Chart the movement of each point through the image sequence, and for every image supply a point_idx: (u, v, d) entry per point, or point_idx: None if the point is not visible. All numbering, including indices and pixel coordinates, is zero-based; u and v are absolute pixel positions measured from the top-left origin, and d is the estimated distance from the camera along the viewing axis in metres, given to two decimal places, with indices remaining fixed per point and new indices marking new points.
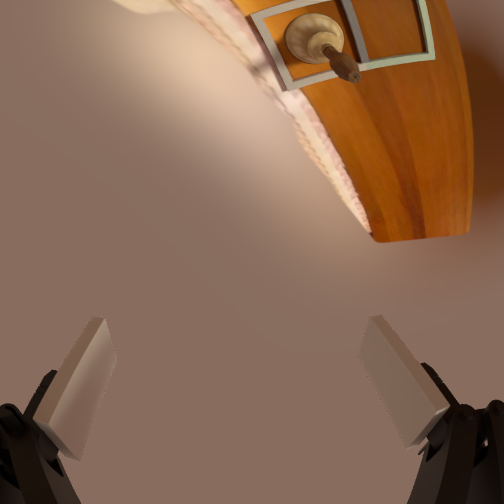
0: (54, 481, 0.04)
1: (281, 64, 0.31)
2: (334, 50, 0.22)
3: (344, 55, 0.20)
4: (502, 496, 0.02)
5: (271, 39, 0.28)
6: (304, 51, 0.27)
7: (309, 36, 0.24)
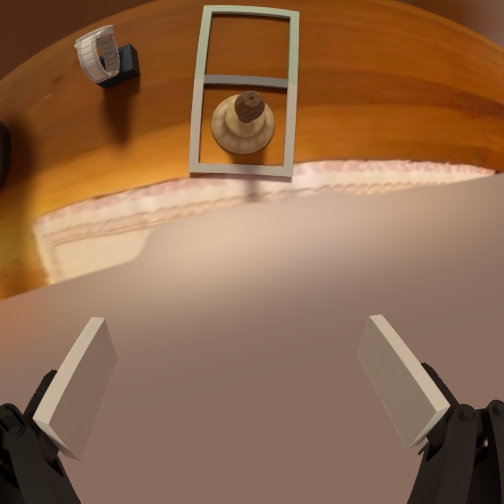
0: (54, 481, 0.04)
1: (257, 168, 0.34)
2: None
3: None
4: (502, 496, 0.02)
5: (224, 165, 0.34)
6: (247, 140, 0.31)
7: (227, 128, 0.29)
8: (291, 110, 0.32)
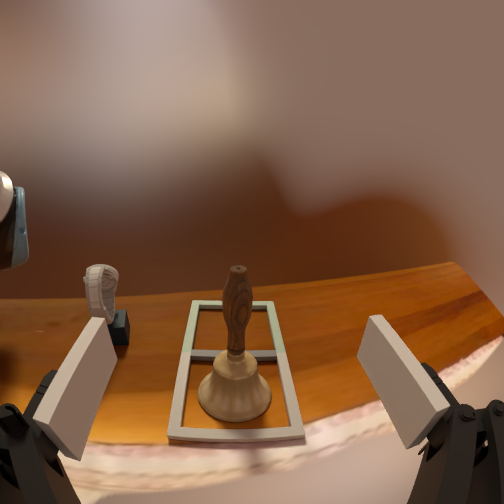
0: (54, 481, 0.04)
1: (257, 432, 0.22)
2: None
3: None
4: (502, 496, 0.02)
5: (214, 430, 0.22)
6: (240, 393, 0.25)
7: (216, 375, 0.25)
8: (285, 373, 0.30)
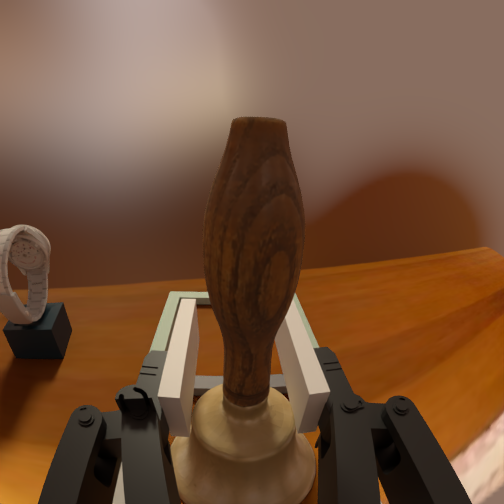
0: (167, 471, 0.06)
1: None
2: None
3: None
4: None
5: None
6: (257, 481, 0.08)
7: (198, 446, 0.09)
8: None
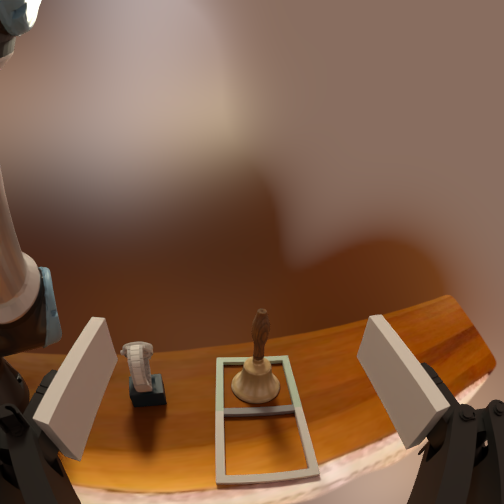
0: (54, 481, 0.04)
1: (284, 474, 0.26)
2: (254, 346, 0.40)
3: None
4: (502, 496, 0.02)
5: (252, 475, 0.26)
6: (261, 384, 0.40)
7: (246, 373, 0.40)
8: (302, 425, 0.34)
